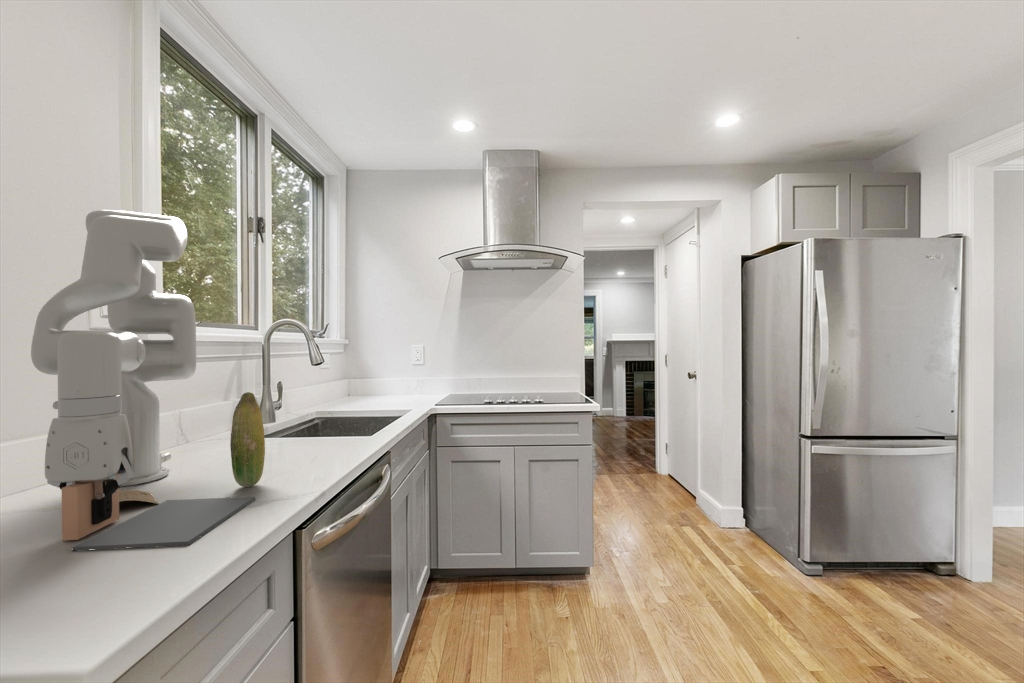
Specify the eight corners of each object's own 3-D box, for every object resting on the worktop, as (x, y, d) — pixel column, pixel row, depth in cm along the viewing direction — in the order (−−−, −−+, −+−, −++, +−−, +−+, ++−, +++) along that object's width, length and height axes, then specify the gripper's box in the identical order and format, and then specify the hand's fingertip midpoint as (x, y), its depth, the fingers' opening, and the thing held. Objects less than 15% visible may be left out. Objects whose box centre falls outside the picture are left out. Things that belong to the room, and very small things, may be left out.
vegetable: (272, 484, 96) (271, 391, 96) (248, 493, 90) (247, 394, 90) (249, 482, 98) (248, 390, 98) (224, 491, 92) (223, 393, 92)
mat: (167, 503, 85) (167, 500, 85) (254, 499, 86) (254, 496, 86) (72, 551, 65) (72, 547, 65) (188, 545, 66) (188, 541, 66)
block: (105, 519, 76) (104, 472, 76) (119, 519, 76) (118, 472, 76) (62, 540, 68) (61, 487, 68) (77, 539, 68) (77, 487, 68)
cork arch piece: (59, 530, 75) (59, 513, 75) (55, 515, 81) (55, 500, 81) (167, 506, 85) (167, 492, 85) (155, 495, 92) (155, 482, 92)
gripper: (13, 412, 68) (14, 533, 68) (125, 410, 69) (126, 529, 69) (59, 405, 75) (60, 514, 75) (159, 403, 77) (161, 510, 77)
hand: (92, 520), depth 72 cm, fingers closed on block, 2 cm apart
